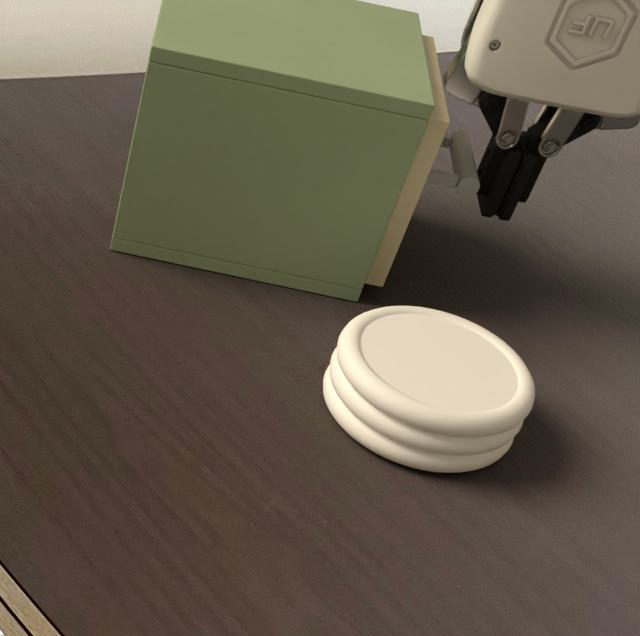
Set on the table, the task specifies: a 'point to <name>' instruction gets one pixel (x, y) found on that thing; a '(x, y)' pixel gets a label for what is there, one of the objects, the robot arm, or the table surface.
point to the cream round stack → (427, 389)
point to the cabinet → (274, 139)
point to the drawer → (427, 171)
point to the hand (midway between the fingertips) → (492, 206)
